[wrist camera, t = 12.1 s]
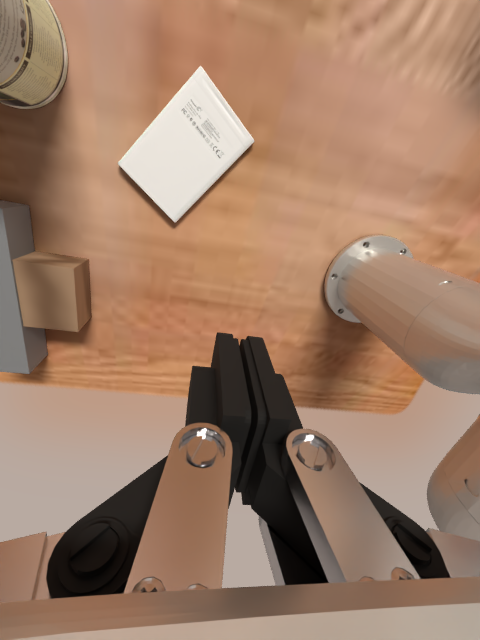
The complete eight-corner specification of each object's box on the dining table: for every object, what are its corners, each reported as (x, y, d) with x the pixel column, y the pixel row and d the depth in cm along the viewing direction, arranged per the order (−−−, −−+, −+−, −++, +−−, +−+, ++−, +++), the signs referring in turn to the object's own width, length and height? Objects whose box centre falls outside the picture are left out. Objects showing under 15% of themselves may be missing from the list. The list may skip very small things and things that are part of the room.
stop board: (28, 205, 31) (2, 208, 27) (47, 354, 39) (29, 373, 35) (-12, 197, 30) (-46, 200, 26) (16, 351, 38) (-6, 371, 34)
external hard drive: (121, 164, 30) (200, 70, 28) (176, 221, 34) (253, 143, 31) (116, 163, 29) (200, 63, 26) (175, 223, 32) (255, 141, 29)
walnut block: (89, 258, 34) (73, 268, 30) (92, 316, 38) (78, 332, 34) (36, 250, 33) (12, 260, 29) (43, 310, 36) (23, 326, 32)
